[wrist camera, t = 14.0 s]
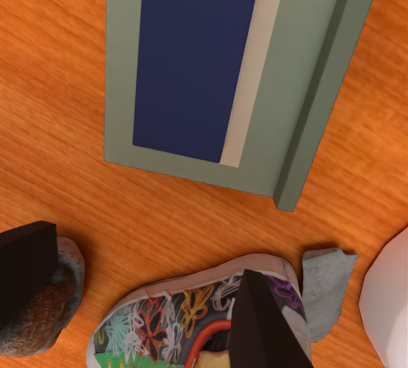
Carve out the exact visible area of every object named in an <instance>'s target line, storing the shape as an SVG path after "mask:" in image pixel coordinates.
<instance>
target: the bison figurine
mask: <svg viewBox="0 0 408 368" xmlns="http://www.w3.org/2000/svg"><path fill="white" fill-rule="evenodd" d="M57 245H58V258H59V267H58V269H57V270H56V271H55V273H54V274H53V275H52V277H51V278H50V279H49V281H48V282H47V283H46V285H45V286H44V287H43V288H42V290H41V291H40V292H39V293H38V294H37V295H36V296H35V297H34V298H33V299H32V300H31V301H30V303H29V304H28V305H27V306H26V307H25V308H24V309H23V310H22V311H21V312H20V313H19V314H18V315H17V316H16V317H15V318H14V319H13V320H12V321H11V322H10V323H9V324H8V325H7V326H6V327H5V328H4V329H3V330H2V331H1V332H0V355H2V356H6V357H17V358H20V357H25V356H33V355H35V354H39V353H42V352H45V351H46V350H48V349H49V348H51V347H52V346H53V345H54V344H55V342H56V340H57V338H58V336H59V334H60V333H61V330H62V329H64V328H66V327H67V325H68V324H69V322H70V321H71V319H72V318H73V316H74V314H75V313H76V311H77V308H78V307H79V305H80V303H81V301H82V299H83V283H84V276H85V262H84V259H83V256H82V254H81V252H80V251H79V248H78V246H77V245H76V243H75V242H74V241H72V240H71V239H69V238H66V237H57Z"/></svg>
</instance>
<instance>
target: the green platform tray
mask: <svg viewBox="0 0 408 368" xmlns="http://www.w3.org/2000/svg"><path fill="white" fill-rule="evenodd" d="M372 2H373V0H258V1H257V6H256V11H255V15H254V20H253V24H252V29H251V33H250V38H249V42H248V47H247V52H246V56H245V61H244V65H243V70H242V74H241V79H240V83H239V88H238V92H237V97H236V102H235V106H234V111H233V115H232V120H231V124H230V129H229V133H228V138H227V143H226V147H225V151H224V152H222V156H221V160H220V163H214V162H209V161H204V160H200V159H195V158H190V157H186V156H181V155H176V154H171V153H167V152H162V151H157V150H153V149H148V148H143V147H138V146H134V145H133V144H132V140H133V124H134V109H135V93H136V77H137V61H138V45H139V29H140V13H141V0H106V62H105V124H104V161H105V162H110V163H114V164H119V165H124V166H128V167H133V168H137V169H142V170H147V171H151V172H156V173H160V174H165V175H170V176H174V177H179V178H184V179H188V180H193V181H197V182H202V183H207V184H211V185H216V186H220V187H225V188H230V189H234V190H239V191H243V192H248V193H253V194H257V195H262V196H266V197H271V198H273V200H274V203H275V206H276V209H279V210H283V211H288V212H294V210H295V208H296V205H297V202H298V200H299V197H300V194H301V191H302V189H303V186H304V183H305V181H306V178H307V175H308V173H309V170H310V167H311V165H312V162H313V159H314V157H315V154H316V151H317V149H318V146H319V143H320V141H321V138H322V135H323V133H324V130H325V127H326V125H327V122H328V119H329V117H330V114H331V111H332V109H333V106H334V103H335V101H336V98H337V95H338V93H339V90H340V87H341V85H342V82H343V79H344V77H345V74H346V71H347V69H348V66H349V63H350V61H351V58H352V55H353V53H354V50H355V47H356V45H357V42H358V39H359V37H360V34H361V31H362V29H363V26H364V23H365V21H366V18H367V15H368V13H369V10H370V7H371V5H372Z"/></svg>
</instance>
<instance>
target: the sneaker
mask: <svg viewBox="0 0 408 368" xmlns="http://www.w3.org/2000/svg"><path fill="white" fill-rule="evenodd" d="M244 269H249V270H254V271H258V272H262V274H263V276H264V278H265V280H266V282H267V284H268V286H269V288H270V290H271V292H272V294H273V296H274V298H275V300H276V302H277V304H278V306H279V308H280V309H281V311H282V313H283V315H284V317H285V319H286V321H287V322H288V324H289V326H290V328H291V330H292V331H293V333H294V335H295V337H296V338H297V340H298V342H299V344H300V345H301V347H302V349H303V350H304V352H305V354H306V355H307V357H308V358H309V360H310V362H311V363H312V361H311V343H310V331H309V326H308V324H307V319H306V315H305V311H304V307H303V304H302V298H301V295H300V292H299V287H298V280H297V277H296V274H295V271H294V269H293V267H292V266H291V265H290V263H289V262H288V261H287V260H285V259H284V258H281V257H277V256H273V255H269V254H265V253H264V254H248V255H245V256H241V257H238V258H235V259H233V260H230V261H228V262H226V263H224V264H222V265H219V266H217V267H214V268H210V269H207V270H204V271H201V272H198V273H195V274H191V275H188V276H183V277H177V278H171V279H166V280H162V281H158V282H154V283H151V284H147V285H145V286H143V287H141V288H139V289H137V290H135V291H133V292H132V293H130V294H129V295H127V296H126V297H123V299H121V300H120V301H119V302H118V303H116V304H115V305H114V306H113V307H112V308H111V309H110V311H109V312H108V313H107V314H106V315H105V316H104V317H103V319H102V320H101V322H100V323H99V325H98V327H97V328H96V329H95V331H94V333H93V334H92V336H91V337H90V340H89V343H88V346H87V351H86V364H87V368H230V328H231V314H232V307H233V304H234V301H235V298H236V294H237V291H238V288H239V285H240V282H241V279H242V275H243V272H244Z"/></svg>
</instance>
